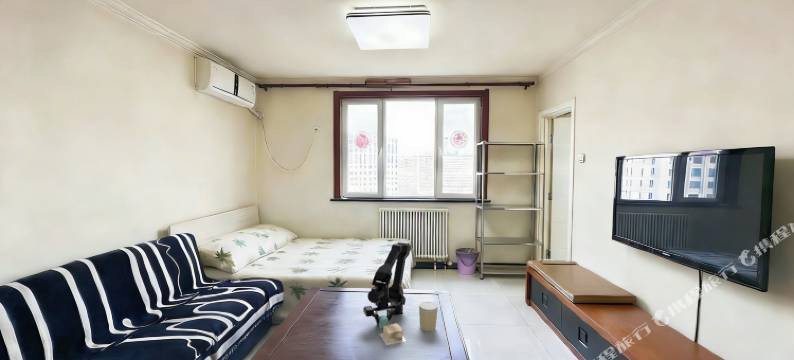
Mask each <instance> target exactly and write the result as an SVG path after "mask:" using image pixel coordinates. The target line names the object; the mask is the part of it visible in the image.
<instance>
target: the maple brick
mask: <svg viewBox="0 0 794 360" xmlns="http://www.w3.org/2000/svg"><path fill="white" fill-rule="evenodd" d="M382 331H383V332H382V333H383V335H384V337H385V338H386V340H387V342H388V343H390V342H395V341H400V340H402V339H403V337H404V335H403V333H404V332H403V329H402V327H400V325H399V323H396V322H395V323H391V324H388V325H385V326H383V328H382Z"/></svg>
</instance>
